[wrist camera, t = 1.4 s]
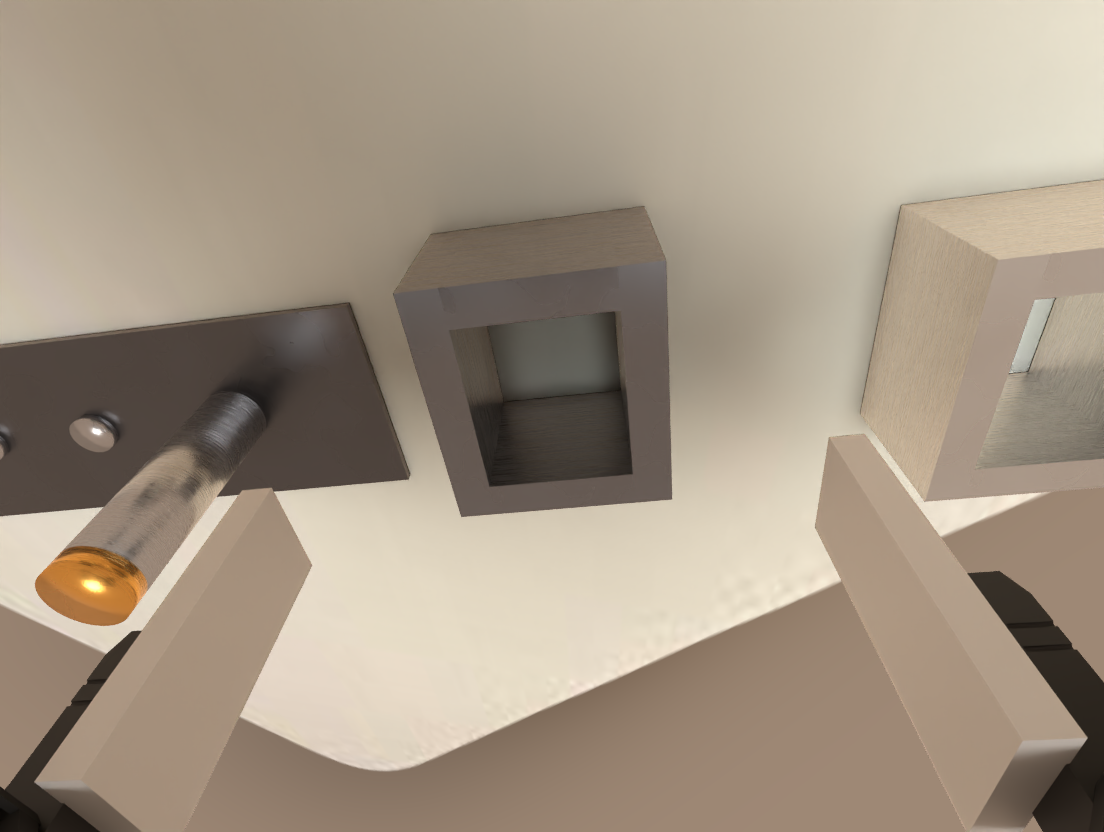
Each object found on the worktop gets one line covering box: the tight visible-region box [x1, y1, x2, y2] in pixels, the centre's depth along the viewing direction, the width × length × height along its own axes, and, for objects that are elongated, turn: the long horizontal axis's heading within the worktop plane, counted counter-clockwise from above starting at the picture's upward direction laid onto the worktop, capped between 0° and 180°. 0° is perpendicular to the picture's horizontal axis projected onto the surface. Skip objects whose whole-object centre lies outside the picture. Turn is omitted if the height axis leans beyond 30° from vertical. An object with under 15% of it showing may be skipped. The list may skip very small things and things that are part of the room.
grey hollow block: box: [393, 206, 672, 517], centre depth 19 cm, size 8×7×5 cm
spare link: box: [860, 180, 1104, 501], centre depth 18 cm, size 8×7×5 cm
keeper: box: [0, 303, 410, 626], centre depth 20 cm, size 8×20×9 cm, turn 98°
